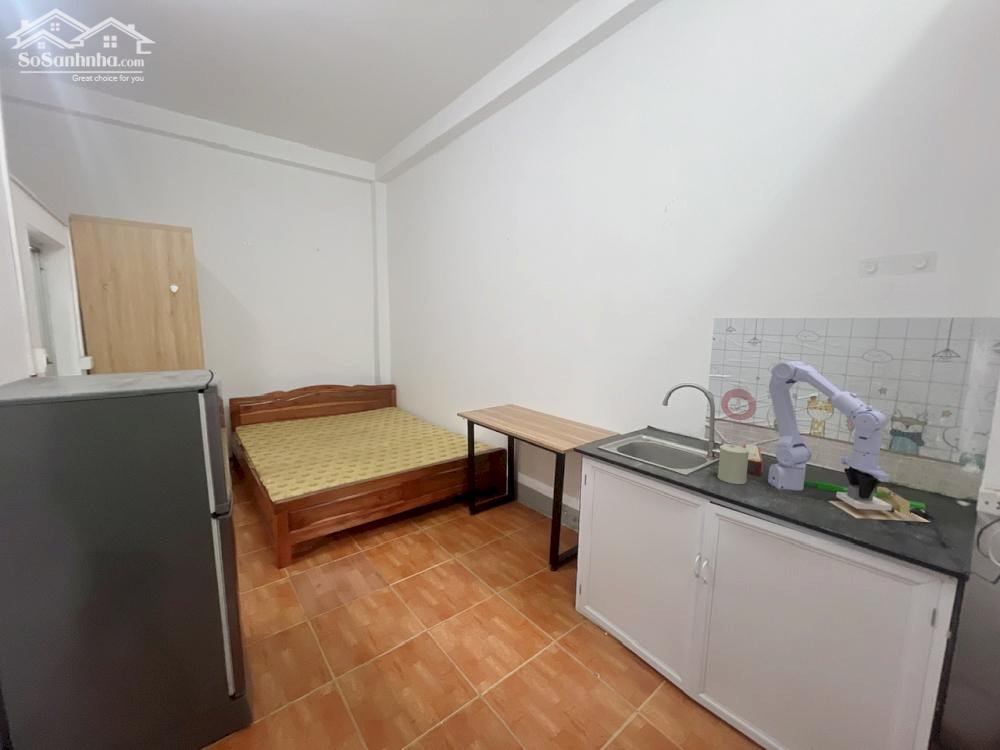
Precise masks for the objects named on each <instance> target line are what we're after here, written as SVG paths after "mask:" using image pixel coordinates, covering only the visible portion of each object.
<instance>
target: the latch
mask: <svg viewBox="0 0 1000 750" xmlns="http://www.w3.org/2000/svg"><path fill="white" fill-rule="evenodd" d="M876 487H877V488H876V493H877V494H876V497H877V498H878V499H880V500H882V501H884V502H886V503H888V504H890V505H892V508H893V509H895V510H896V511H898V512H899V513H905V514H909V512H910V502H908V501H907V500H908V499H905V498H904V497H902V496H901V495H898V493H896V492H893V491H892V490H891V489H889V488H887V487H883V486H876Z"/></svg>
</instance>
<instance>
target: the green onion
mask: <svg viewBox="0 0 1000 750" xmlns="http://www.w3.org/2000/svg"><path fill="white" fill-rule="evenodd" d="M804 486H807V487H812V488H816V489H817V490H819V491H826V492H833V493H837V492H847V493H848V487H845V486H840V485H837V484H833V483H829V482H824V481H820V480H819V481H817V482H816V481H815V482H814V481H809V480H805V479H804ZM876 494H877V492H874V493H873V496H874V497H876ZM876 498H877V497H876ZM906 500H907V501H908V502H910V507H911V508H916V509H922V510H926V505H925V503H923V502H917V501H913V500H909V499H906Z"/></svg>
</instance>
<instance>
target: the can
mask: <svg viewBox="0 0 1000 750" xmlns="http://www.w3.org/2000/svg"><path fill="white" fill-rule="evenodd" d="M748 456H749V450H748V449H746V448H744V447H743V446H740V445H733V444H722V445H720V446H719V459H718V471H717V478H718V479H719V480H720V481H722V482H726V483H729V484H734V485H736V484H737V485H744V484H746V483H747V482H748V480H747V476H748V474H747V466H748Z"/></svg>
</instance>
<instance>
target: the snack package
mask: <svg viewBox="0 0 1000 750" xmlns="http://www.w3.org/2000/svg"><path fill="white" fill-rule="evenodd" d="M742 447H744V448H746V449H748V450H749V456H748V466H747V475H751V474H752V476H760V475H762V473H763V469H764V462H763V457H762V452H761V448H760V446H758V445H755V444H744V445H743V446H742Z"/></svg>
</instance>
